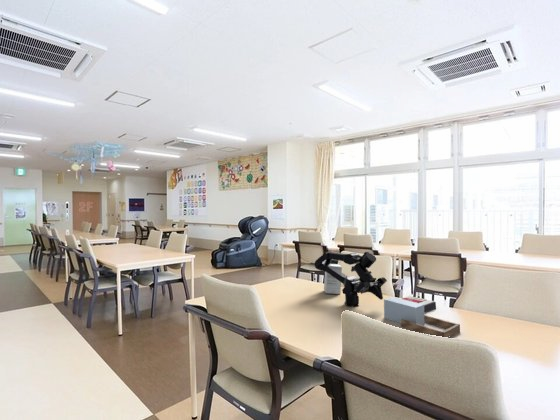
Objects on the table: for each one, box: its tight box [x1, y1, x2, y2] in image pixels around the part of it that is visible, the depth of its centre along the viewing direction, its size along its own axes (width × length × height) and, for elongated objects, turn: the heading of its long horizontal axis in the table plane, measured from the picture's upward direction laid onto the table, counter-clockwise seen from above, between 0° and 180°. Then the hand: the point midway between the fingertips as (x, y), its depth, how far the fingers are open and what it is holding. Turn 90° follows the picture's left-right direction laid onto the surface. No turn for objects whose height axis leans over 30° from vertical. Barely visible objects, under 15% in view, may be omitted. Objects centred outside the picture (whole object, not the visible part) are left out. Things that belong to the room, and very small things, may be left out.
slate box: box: [383, 296, 425, 326], centre depth 142 cm, size 16×7×9 cm, turn 37°
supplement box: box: [323, 263, 343, 295], centre depth 191 cm, size 10×9×17 cm
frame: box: [400, 314, 461, 338], centre depth 132 cm, size 18×14×3 cm
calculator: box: [401, 295, 437, 313], centre depth 162 cm, size 11×4×15 cm
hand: (381, 299), depth 151 cm, fingers closed
